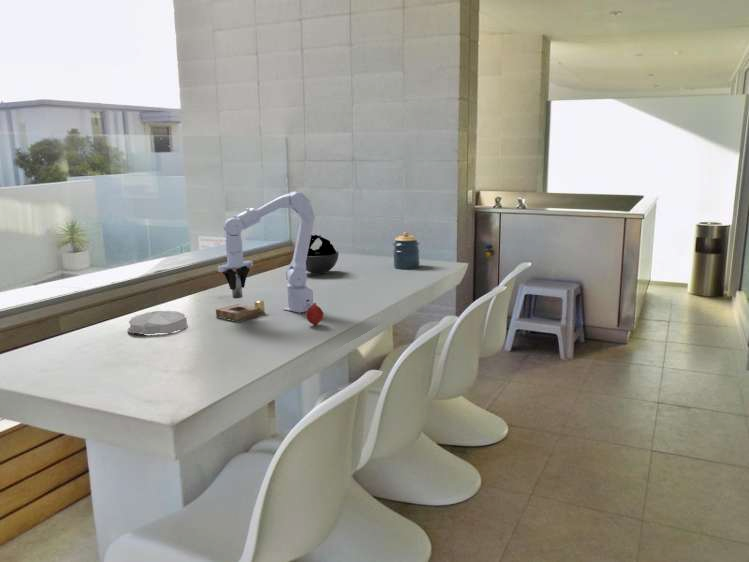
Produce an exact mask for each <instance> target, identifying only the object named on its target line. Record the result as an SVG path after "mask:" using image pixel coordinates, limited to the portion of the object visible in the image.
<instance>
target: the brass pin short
mask: <svg viewBox="0 0 749 562" xmlns="http://www.w3.org/2000/svg"><path fill="white" fill-rule="evenodd" d="M253 303H254V306H253V307H256V308H258V309H259V315H263V314H262V313H264V314H265V313H266V311H265V310H266V309H265V301H264V300H255V301H253Z"/></svg>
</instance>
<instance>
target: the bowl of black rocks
mask: <svg viewBox="0 0 749 562" xmlns="http://www.w3.org/2000/svg"><path fill="white" fill-rule="evenodd" d="M318 239H319V240H320V241H321V244H320V246H319V247H318V248H317V249H312V245H314V243H315V241H316V240H318ZM339 254H340V253H339V251H338V250H336V249H335V247H334V245H333V243H331V240H329V239H327V238H325V237H322V235H318V234H314V235H313V234H311V239H310V244H309V249H308V254H307V259H306V272H308V273H311V274H314V275H322V274H324V273H327V272H329V271H331V270H332V269H333V268H334V267H335V265H336V264H337V262H338V260H339Z"/></svg>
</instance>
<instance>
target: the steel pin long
mask: <svg viewBox="0 0 749 562" xmlns="http://www.w3.org/2000/svg"><path fill="white" fill-rule="evenodd" d="M231 294H232V299H242V298H243V288H242V283H241V275H237V274H236V277H235V290H232V289H231Z"/></svg>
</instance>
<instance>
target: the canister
mask: <svg viewBox="0 0 749 562" xmlns="http://www.w3.org/2000/svg"><path fill="white" fill-rule="evenodd" d="M394 240H395V241H394V242H393V243H392V245H393V246H394V247H393V248H394V249H393V267H394V268H395V269H398V270H399V269H401V270H412V269H418V268H419V267H420V249H419V245H420V242H419V241H418V237H415V235H411V234H409V232H408V231H405V232H403V235H399V236H397V237H395V238H394Z"/></svg>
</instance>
